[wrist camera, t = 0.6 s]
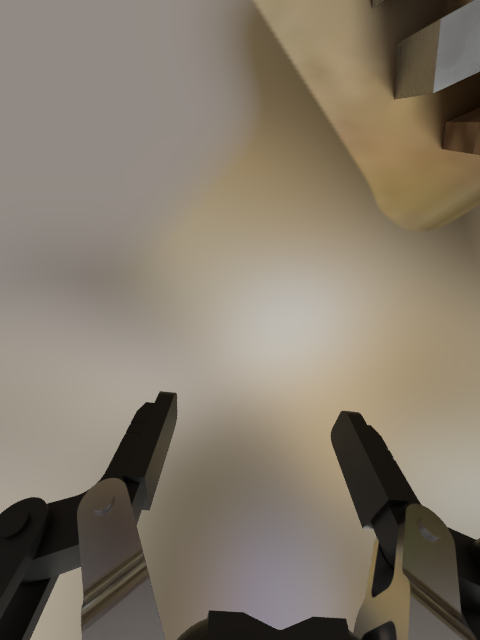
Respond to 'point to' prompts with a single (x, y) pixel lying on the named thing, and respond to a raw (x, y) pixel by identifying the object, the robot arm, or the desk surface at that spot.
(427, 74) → the grey rectangular block
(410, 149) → the desk surface
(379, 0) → the tall pin
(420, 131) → the desk surface
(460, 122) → the block with rectangular hole
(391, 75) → the desk surface
